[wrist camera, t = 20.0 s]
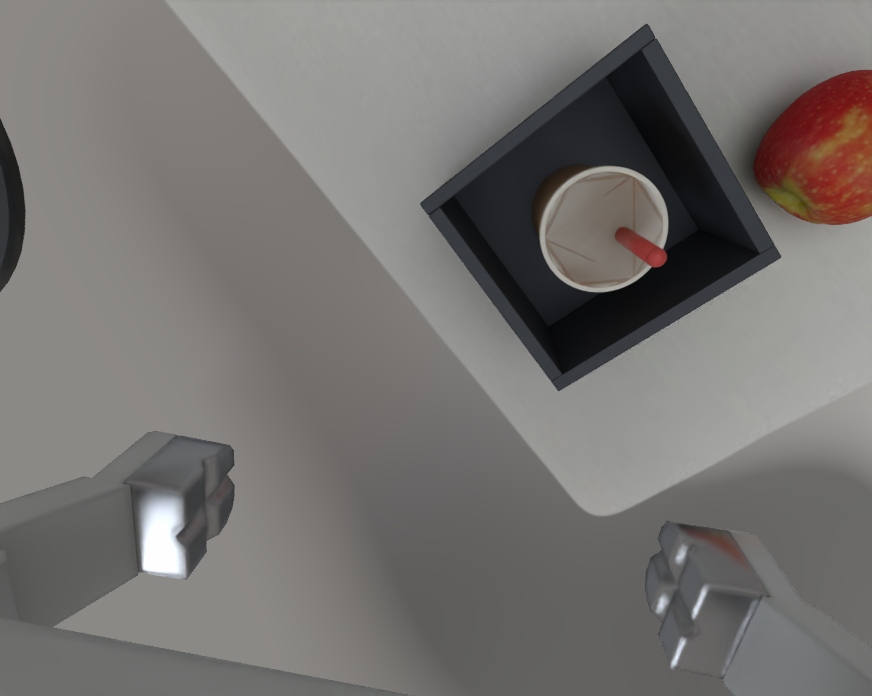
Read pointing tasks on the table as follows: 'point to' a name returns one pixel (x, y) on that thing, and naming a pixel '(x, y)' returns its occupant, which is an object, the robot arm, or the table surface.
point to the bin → (597, 146)
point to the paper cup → (600, 226)
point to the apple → (822, 152)
